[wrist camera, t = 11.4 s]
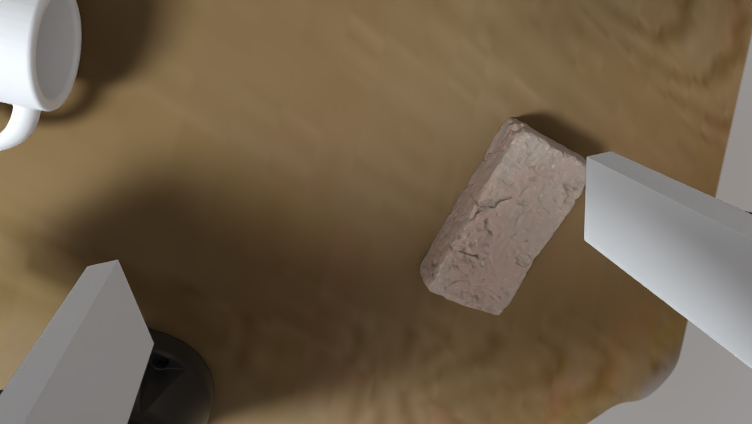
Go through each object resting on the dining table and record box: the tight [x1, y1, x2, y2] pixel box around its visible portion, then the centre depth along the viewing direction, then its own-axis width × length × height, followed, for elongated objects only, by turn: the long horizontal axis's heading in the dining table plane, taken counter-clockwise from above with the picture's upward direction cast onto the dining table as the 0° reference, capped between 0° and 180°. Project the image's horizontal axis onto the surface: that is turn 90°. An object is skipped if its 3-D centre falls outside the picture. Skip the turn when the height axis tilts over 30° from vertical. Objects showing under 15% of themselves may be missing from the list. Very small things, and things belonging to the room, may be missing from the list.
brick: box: [420, 118, 587, 315], centre depth 45 cm, size 17×8×5 cm, turn 153°
